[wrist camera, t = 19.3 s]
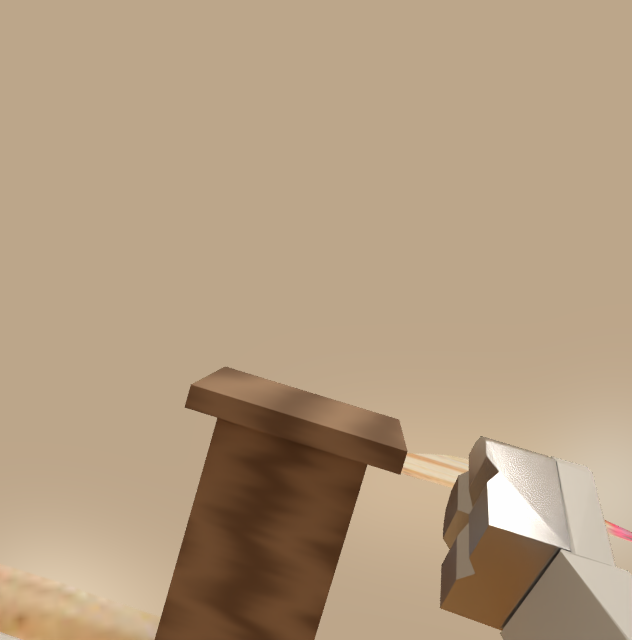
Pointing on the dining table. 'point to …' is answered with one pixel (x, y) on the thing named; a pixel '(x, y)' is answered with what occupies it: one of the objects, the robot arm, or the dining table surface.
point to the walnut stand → (270, 508)
